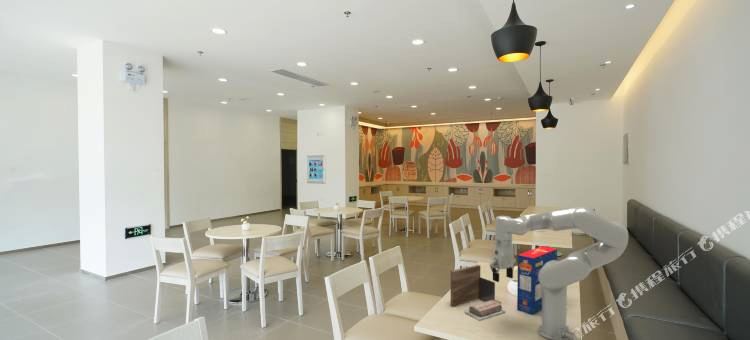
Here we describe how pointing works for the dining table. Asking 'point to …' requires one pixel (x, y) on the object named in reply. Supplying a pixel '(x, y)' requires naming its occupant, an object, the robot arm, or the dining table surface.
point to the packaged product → (485, 310)
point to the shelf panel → (465, 285)
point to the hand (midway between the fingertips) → (502, 279)
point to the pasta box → (532, 278)
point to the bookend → (486, 290)
